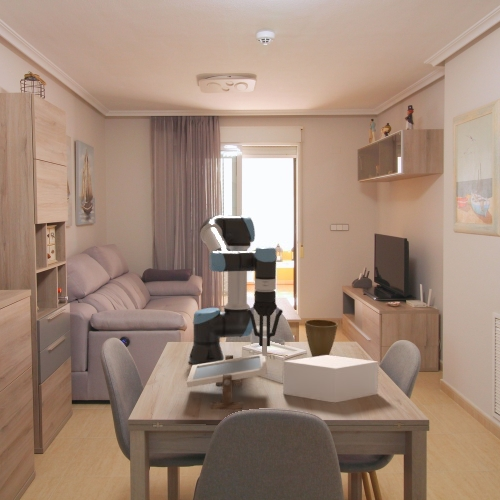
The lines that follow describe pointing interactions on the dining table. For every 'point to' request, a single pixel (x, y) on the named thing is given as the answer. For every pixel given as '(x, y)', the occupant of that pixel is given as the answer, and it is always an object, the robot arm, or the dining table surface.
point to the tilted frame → (227, 370)
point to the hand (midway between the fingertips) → (264, 354)
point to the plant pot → (320, 336)
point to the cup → (278, 341)
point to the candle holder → (255, 338)
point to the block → (330, 378)
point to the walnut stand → (227, 392)
